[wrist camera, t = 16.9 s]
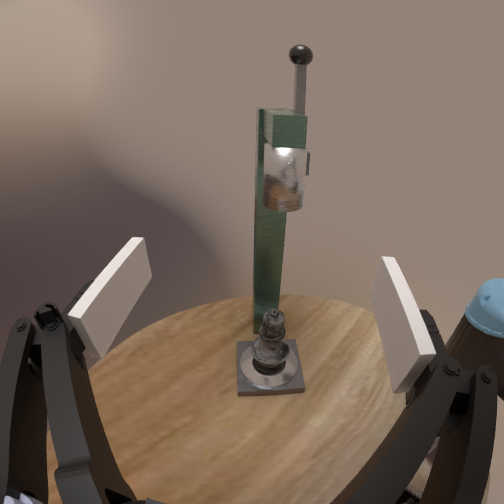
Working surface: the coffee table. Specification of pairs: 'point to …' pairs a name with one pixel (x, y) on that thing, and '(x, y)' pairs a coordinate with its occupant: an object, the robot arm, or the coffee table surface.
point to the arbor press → (276, 223)
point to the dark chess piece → (270, 345)
